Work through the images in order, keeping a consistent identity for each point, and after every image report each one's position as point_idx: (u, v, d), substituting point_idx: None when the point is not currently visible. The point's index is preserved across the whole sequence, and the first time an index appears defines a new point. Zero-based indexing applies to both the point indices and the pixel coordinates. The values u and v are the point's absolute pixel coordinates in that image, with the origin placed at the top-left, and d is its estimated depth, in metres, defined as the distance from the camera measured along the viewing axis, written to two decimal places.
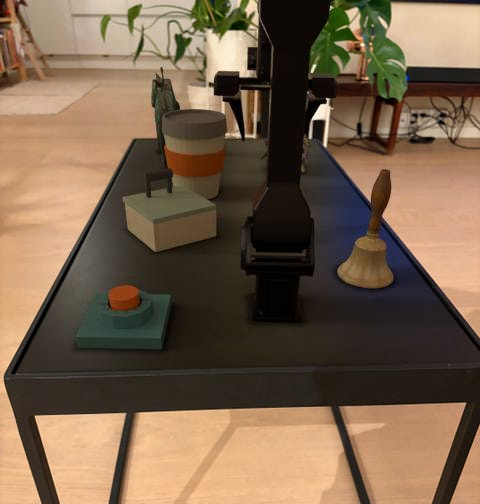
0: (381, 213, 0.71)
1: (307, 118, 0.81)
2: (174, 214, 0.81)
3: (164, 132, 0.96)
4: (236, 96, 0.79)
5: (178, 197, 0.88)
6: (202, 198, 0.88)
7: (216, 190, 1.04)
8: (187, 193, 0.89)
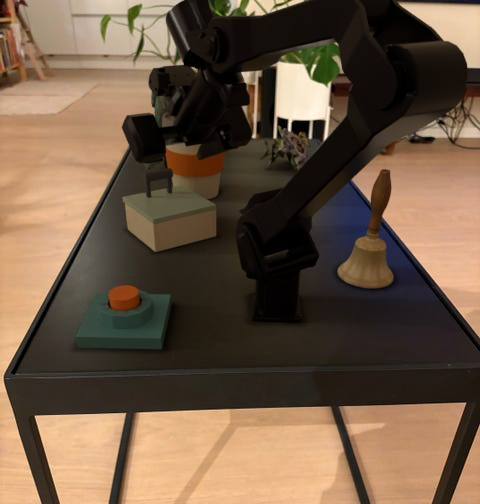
0: (381, 213, 0.71)
1: (216, 153, 0.80)
2: (174, 214, 0.81)
3: None
4: None
5: (178, 197, 0.88)
6: (202, 198, 0.88)
7: (216, 190, 1.04)
8: (187, 193, 0.89)
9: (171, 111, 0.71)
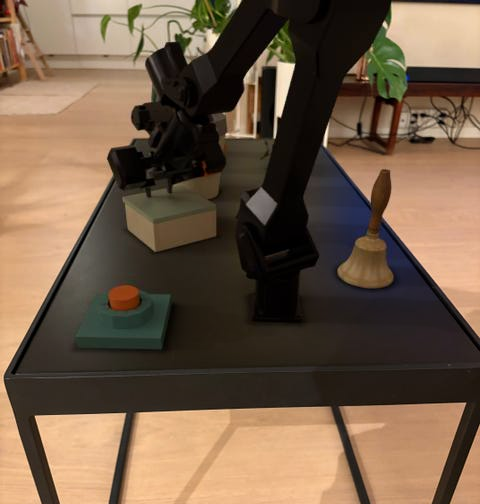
0: (381, 213, 0.71)
1: (183, 180, 0.87)
2: (174, 214, 0.81)
3: None
4: (150, 180, 0.81)
5: (178, 197, 0.88)
6: (202, 198, 0.88)
7: (216, 190, 1.04)
8: (187, 193, 0.89)
9: (151, 143, 0.79)
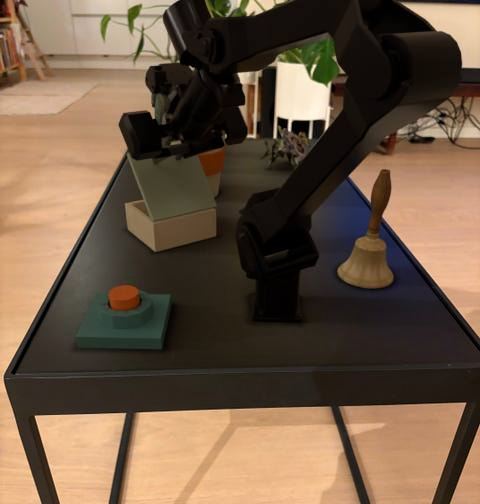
0: (381, 213, 0.71)
1: (201, 152, 0.79)
2: (175, 215, 0.81)
3: None
4: (165, 150, 0.73)
5: (184, 175, 0.83)
6: (207, 185, 0.85)
7: (216, 190, 1.04)
8: (194, 167, 0.85)
9: (167, 109, 0.71)
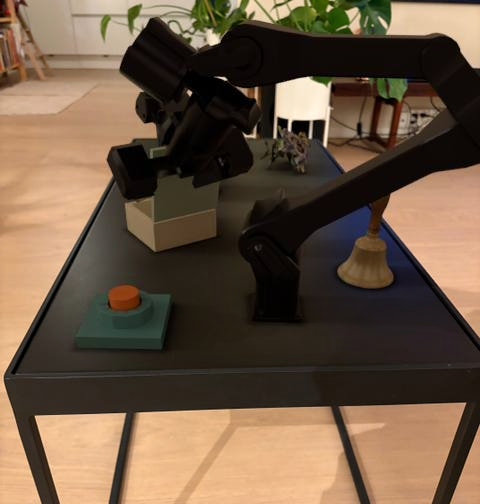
0: (381, 213, 0.71)
1: (213, 182, 0.71)
2: (175, 217, 0.81)
3: None
4: None
5: None
6: (216, 187, 0.83)
7: None
8: None
9: (162, 140, 0.62)
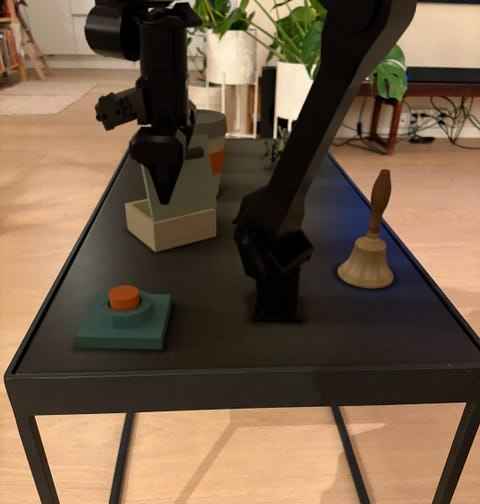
0: (381, 213, 0.71)
1: (186, 149, 0.73)
2: (175, 216, 0.81)
3: None
4: None
5: (192, 172, 0.81)
6: (211, 184, 0.84)
7: (216, 190, 1.04)
8: (203, 164, 0.82)
9: (145, 117, 0.63)
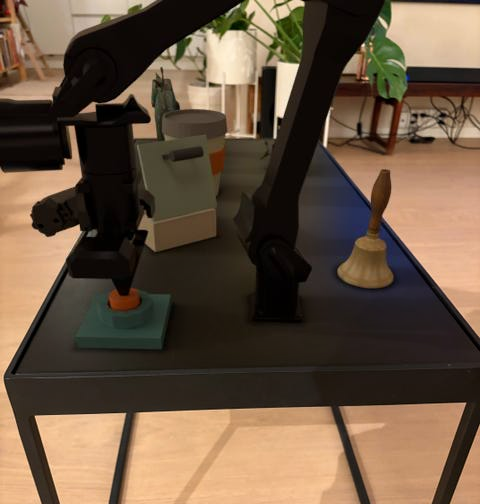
0: (381, 213, 0.71)
1: (138, 260, 0.61)
2: (175, 216, 0.81)
3: (164, 132, 0.96)
4: None
5: (192, 172, 0.81)
6: (211, 184, 0.84)
7: (216, 190, 1.04)
8: (203, 164, 0.82)
9: (89, 223, 0.55)
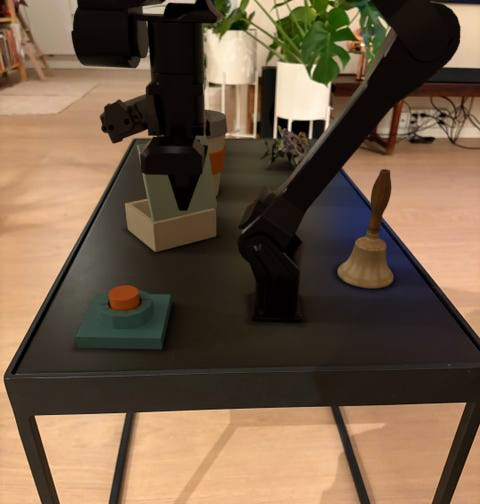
0: (381, 213, 0.71)
1: None
2: (175, 216, 0.81)
3: None
4: None
5: None
6: (211, 184, 0.84)
7: (216, 190, 1.04)
8: None
9: (157, 127, 0.55)
